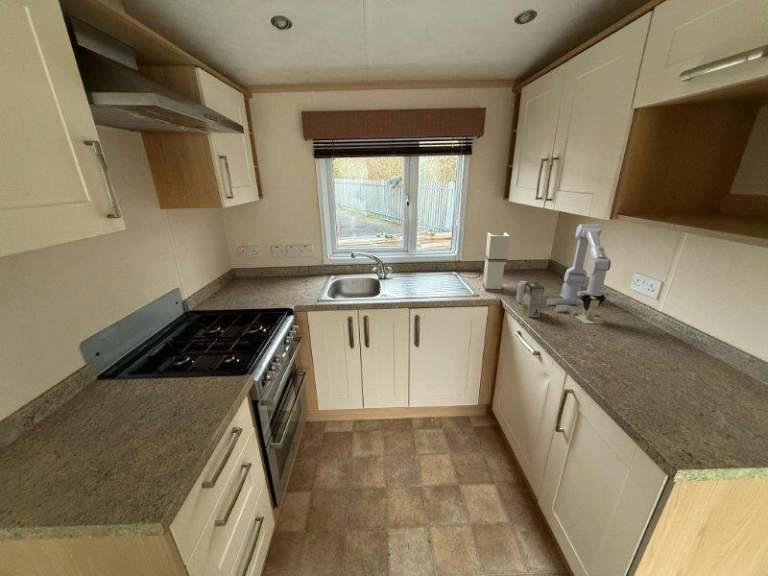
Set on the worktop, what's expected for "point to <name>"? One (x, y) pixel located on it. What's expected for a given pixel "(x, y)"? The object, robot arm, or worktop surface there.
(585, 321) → the end pad
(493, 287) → the tall white stacked column
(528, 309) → the coffee box
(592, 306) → the birch block
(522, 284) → the beverage can
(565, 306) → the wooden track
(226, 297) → the worktop surface
